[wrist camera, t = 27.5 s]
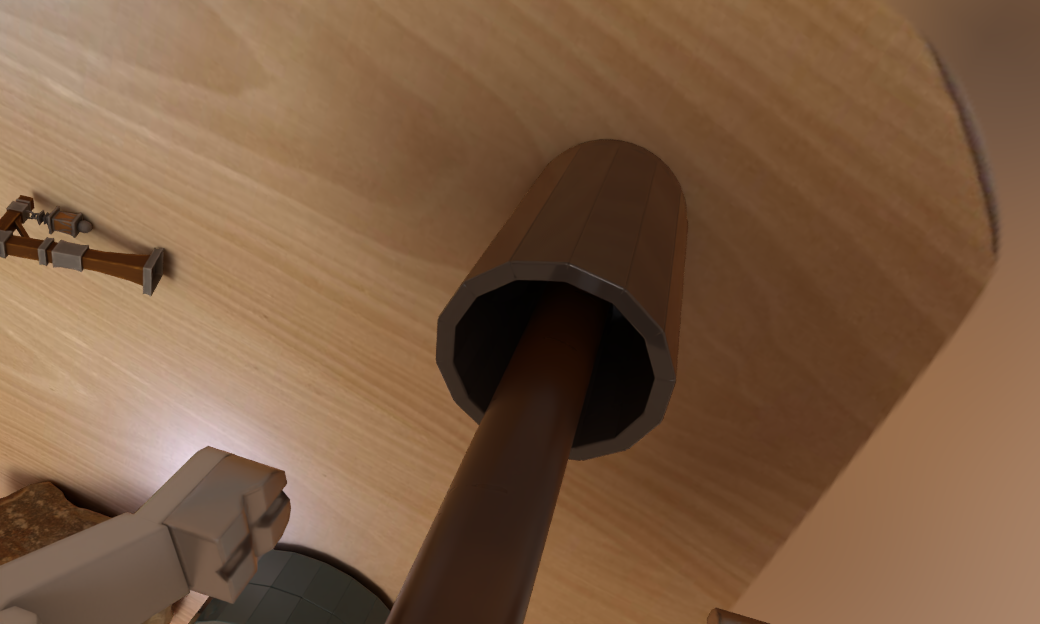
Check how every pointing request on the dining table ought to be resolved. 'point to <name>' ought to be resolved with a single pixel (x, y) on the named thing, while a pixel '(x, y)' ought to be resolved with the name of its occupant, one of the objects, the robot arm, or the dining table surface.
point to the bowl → (296, 596)
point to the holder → (590, 267)
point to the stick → (509, 474)
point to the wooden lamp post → (73, 246)
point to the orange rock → (46, 525)
